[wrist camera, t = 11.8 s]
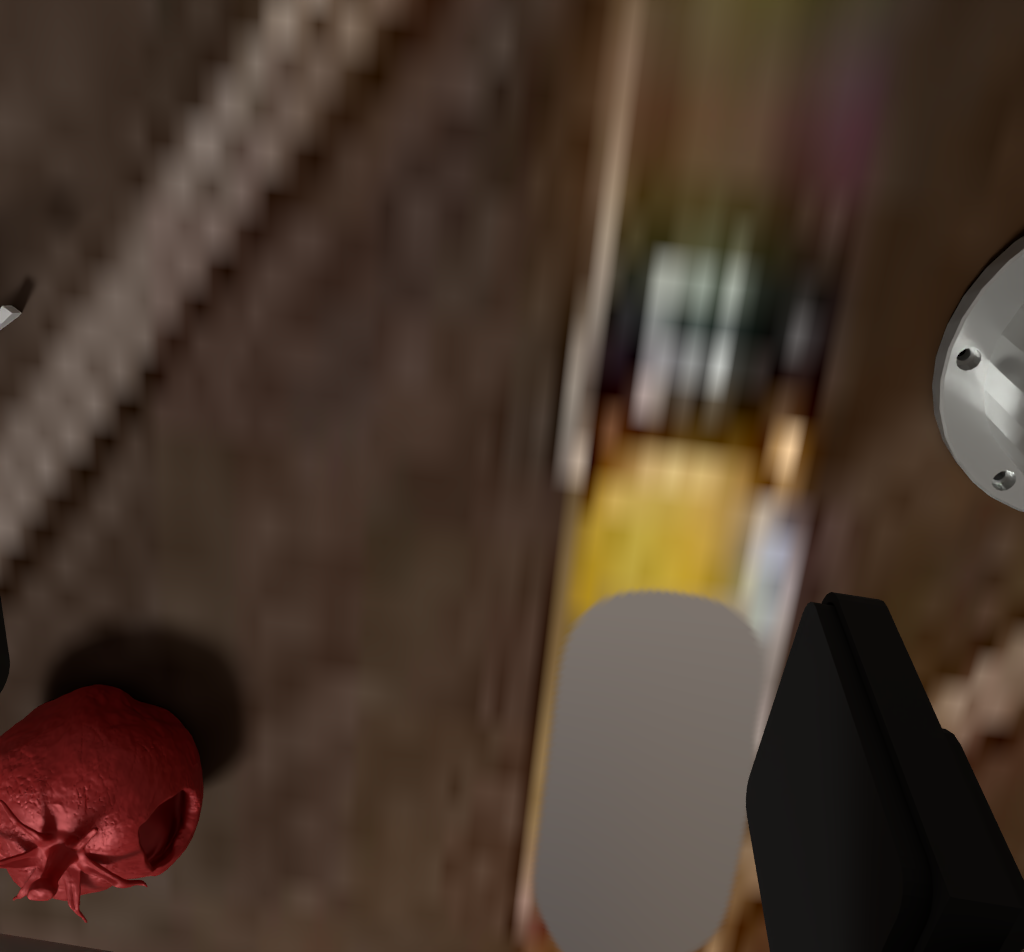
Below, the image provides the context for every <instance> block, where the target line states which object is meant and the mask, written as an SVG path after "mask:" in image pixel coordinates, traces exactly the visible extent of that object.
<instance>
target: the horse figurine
mask: <svg viewBox="0 0 1024 952" xmlns="http://www.w3.org/2000/svg"><path fill="white" fill-rule="evenodd" d="M20 314H21V312H20V311H19V310H17V309H16V308H15V307H13V306H12V305H7V306H2V307H1V308H0V330H1V329H2V328H4V327H5V326H7V325H8V324H9V323H11V322H12V321H13V320H15V319H16V318H17V317H19V315H20Z"/></svg>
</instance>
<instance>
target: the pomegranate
mask: <svg viewBox="0 0 1024 952" xmlns="http://www.w3.org/2000/svg"><path fill="white" fill-rule="evenodd" d="M202 799H203V777H202V768H201V762H200V756H199V752H198V749H197V747H196V745H195V742H194V740H193V737H192V736H191V734H190V733H189V731H188V730H187V729H186V728H185V727H184V726H183V724H182V723H181V722H180V720H179V719H178V718H176V717H175V716H174V715H173V714H172V713H171V712H170V711H168V710H166V709H164V708H161V707H158V706H156V705H152V704H148V703H144V702H140V701H138V700H135V699H133V698H132V697H131V696H130V695H129V694H128V693H126V692H124V691H123V690H121V689H119V688H116V687H113V686H108V685H101V684H97V685H92V686H87V687H82V688H79V689H76V690H74V691H72V692H70V693H68V694H65V695H63V696H60V697H59V698H57V699H55V700H52V701H49V702H46V703H44V704H43V705H40V706H38V707H37V708H36V709H34V710H33V711H32V712H31V713H30V714H29V715H27V716H26V717H25V718H24V719H23V720H21V721H20V722H18V723H16V724H15V725H14V726H13V727H12V728H10V729H9V730H8V731H6V732H5V733H4V734H3V735H2V736H1V737H0V868H6V869H7V871H8V873H9V874H10V876H11V877H12V879H13V881H14V882H15V883H16V884H17V885H18V886H20V887H21V889H20V891H19V893H18V895H17V896H15V897H14V898H13V900H15V899H21V898H22V897H24V896H26V895H27V897H28V899H30V900H35V901H46V900H49V899H51V898H54V899H58V900H63V901H67V900H68V905H69V906H70V908H71V909H72V910H73V911H74V912H75V913H76V914H77V915H79V916H80V917H81V918H83V920H84V921H85V922H86V923H87V920H86V918H85V917H84V915H83V914H82V913H81V912H80V910H79V905H80V895H83V894H88V893H92V892H99V891H103V890H106V889H108V888H109V887H111V886H112V885H113V886H115V887H118V888H127V887H131V886H134V885H143V886H146V887H147V885H146V883H145V882H144V881H142V880H126V879H136V878H141V877H145V876H157V875H160V874H161V873H163V872H164V871H166V870H167V869H168V868H169V867H170V866H171V865H172V864H173V863H174V862H175V861H176V860H177V859H178V858H179V857H180V855H181V854H182V853H183V852H184V851H185V850H186V848H187V846H188V844H189V843H190V841H191V839H192V837H193V834H194V832H195V830H196V827H197V824H198V821H199V817H200V812H201V807H202Z"/></svg>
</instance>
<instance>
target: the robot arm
mask: <svg viewBox="0 0 1024 952" xmlns="http://www.w3.org/2000/svg"><path fill="white" fill-rule="evenodd" d="M964 349H966V352H965V353H964V354H963V355H962V356H958V354H959V353H960V352H961V351H963V350H964ZM932 390H933V403H934V415H935V418H936V421H937V424H938V427H939V430H940V433H941V437H942V440H943V441H944V443H945V445H946V446H947V448H948V450H949V451H950V453H951V455H952V456H953V458H954V459H955V461H956V463H957V464H958V465H959V466H960V467H961V468H962V470H963V471H964V472H965V473H966V474H967V475H968V477H969V478H970V479H971V481H972V482H974V483H975V484H976V485H977V486H978V487H979V488H981V489H982V490H983V491H984V492H985V493H987V494H988V495H989V496H991V497H992V498H994V499H996V500H998V501H1000V502H1002V503H1004V504H1006V505H1008V506H1010V507H1012V508H1014V509H1016V510H1018V511H1022V512H1024V236H1023V237H1021V238H1020V239H1018V240H1017V241H1015V242H1014V243H1013V244H1012V245H1011V246H1010V247H1009V248H1007V249H1006V250H1005V251H1004V252H1003V253H1002V254H1001V255H1000V256H999V257H998V258H996V259H995V260H994V261H993V262H992V263H991V264H990V265H989V266H988V267H987V268H986V269H985V270H984V271H983V272H982V274H981V275H980V276H979V277H978V279H977V280H976V281H975V282H974V284H973V285H972V286H971V287H970V289H969V290H968V291H967V292H966V294H965V295H964V296H963V298H962V300H961V302H960V303H959V305H958V307H957V309H956V310H955V312H954V314H953V316H952V318H951V319H950V321H949V323H948V325H947V327H946V330H945V333H944V335H943V338H942V341H941V344H940V347H939V350H938V353H937V356H936V362H935V369H934V377H933V384H932ZM9 668H10V659H9V652H8V645H7V639H6V632H5V625H4V618H3V611H2V604H1V598H0V692H1V691H2V689H3V687H4V685H5V683H6V681H7V677H8V674H9ZM746 811H747V818H748V824H749V830H750V836H751V841H752V847H753V853H754V859H755V865H756V871H757V877H758V883H759V889H760V894H761V900H762V906H763V912H764V918H765V924H766V930H767V936H768V942H769V947H770V952H1024V880H1023V878H1022V876H1021V874H1020V871H1019V869H1018V867H1017V865H1016V863H1015V861H1014V859H1013V856H1012V854H1011V852H1010V850H1009V848H1008V846H1007V843H1006V841H1005V839H1004V837H1003V835H1002V833H1001V831H1000V828H999V826H998V824H997V822H996V820H995V818H994V815H993V813H992V811H991V809H990V807H989V805H988V803H987V800H986V798H985V796H984V794H983V792H982V790H981V787H980V785H979V783H978V781H977V779H976V777H975V775H974V772H973V770H972V768H971V766H970V764H969V762H968V759H967V757H966V755H965V753H964V751H963V749H962V747H961V745H960V743H959V742H958V740H957V739H956V737H955V735H954V734H953V733H951V732H949V731H948V730H946V729H942V728H941V725H940V723H939V721H938V719H937V717H936V714H935V712H934V710H933V708H932V705H931V703H930V701H929V699H928V697H927V694H926V692H925V690H924V688H923V685H922V683H921V681H920V679H919V677H918V674H917V672H916V670H915V668H914V665H913V663H912V661H911V659H910V657H909V654H908V652H907V650H906V648H905V645H904V643H903V641H902V639H901V637H900V634H899V632H898V630H897V628H896V625H895V623H894V621H893V619H892V616H891V614H890V612H889V610H888V608H887V606H886V604H885V603H884V601H882V600H879V599H872V598H866V597H859V596H853V595H846V594H840V593H833V592H831V593H829V594H827V595H826V597H825V598H824V599H823V601H822V604H820V603H814V602H810V603H808V604H807V606H806V607H805V609H804V612H803V614H802V617H801V621H800V624H799V627H798V630H797V633H796V636H795V639H794V642H793V645H792V648H791V651H790V654H789V657H788V660H787V663H786V666H785V669H784V672H783V676H782V679H781V682H780V685H779V688H778V691H777V694H776V697H775V700H774V703H773V706H772V709H771V712H770V715H769V718H768V721H767V724H766V727H765V730H764V734H763V737H762V740H761V743H760V746H759V749H758V752H757V755H756V758H755V761H754V764H753V767H752V770H751V773H750V776H749V780H748V785H747V793H746ZM0 952H111V951H105V950H99V949H93V948H86V947H80V946H74V945H68V944H62V943H56V942H49V941H43V940H37V939H31V938H25V937H19V936H12V935H6V934H0Z"/></svg>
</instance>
